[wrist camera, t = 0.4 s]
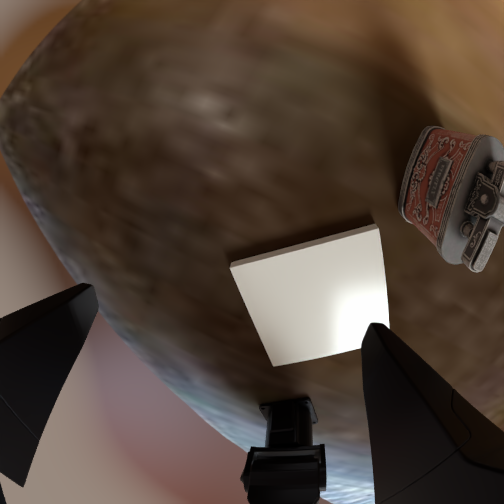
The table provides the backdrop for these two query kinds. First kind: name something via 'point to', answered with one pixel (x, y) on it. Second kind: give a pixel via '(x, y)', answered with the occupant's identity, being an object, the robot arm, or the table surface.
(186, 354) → the table surface
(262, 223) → the table surface
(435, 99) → the table surface
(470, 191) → the lighter
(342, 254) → the coaster
